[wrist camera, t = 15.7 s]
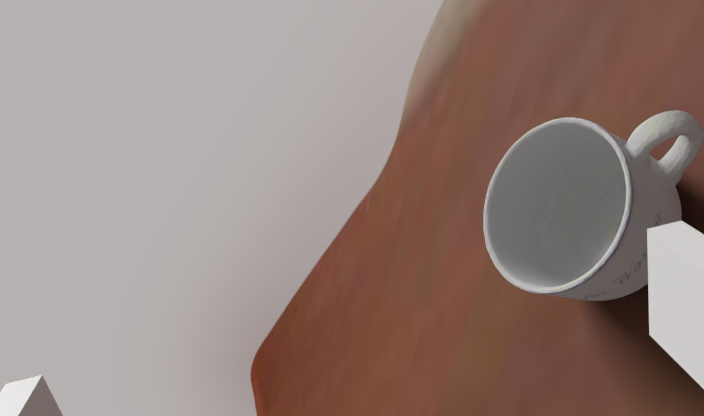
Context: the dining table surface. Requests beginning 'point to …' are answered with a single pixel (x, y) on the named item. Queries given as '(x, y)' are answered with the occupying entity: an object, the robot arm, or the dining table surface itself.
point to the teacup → (585, 204)
